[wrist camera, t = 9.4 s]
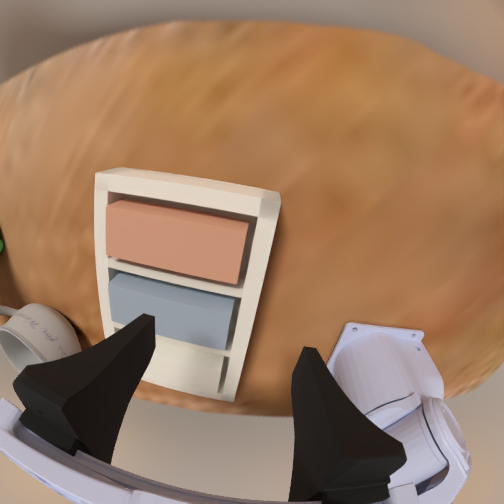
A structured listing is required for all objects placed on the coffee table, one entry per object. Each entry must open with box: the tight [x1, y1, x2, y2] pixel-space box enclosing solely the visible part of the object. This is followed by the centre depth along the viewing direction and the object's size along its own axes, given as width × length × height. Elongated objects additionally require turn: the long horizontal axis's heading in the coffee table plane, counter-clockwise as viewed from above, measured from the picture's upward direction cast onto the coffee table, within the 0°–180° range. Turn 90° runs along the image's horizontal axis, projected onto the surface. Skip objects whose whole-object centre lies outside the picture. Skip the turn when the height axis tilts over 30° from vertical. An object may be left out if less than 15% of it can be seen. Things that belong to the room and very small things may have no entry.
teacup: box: [0, 303, 82, 374], centre depth 24 cm, size 14×11×8 cm
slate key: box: [108, 271, 235, 351], centre depth 21 cm, size 10×4×2 cm, turn 79°
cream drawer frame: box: [94, 167, 281, 402], centre depth 22 cm, size 13×20×4 cm, turn 169°
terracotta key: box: [106, 198, 250, 284], centre depth 18 cm, size 10×4×2 cm, turn 79°
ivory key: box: [143, 340, 224, 395], centre depth 23 cm, size 10×4×2 cm, turn 79°
